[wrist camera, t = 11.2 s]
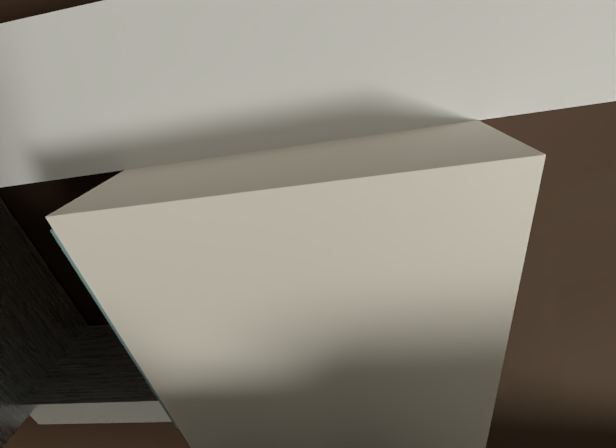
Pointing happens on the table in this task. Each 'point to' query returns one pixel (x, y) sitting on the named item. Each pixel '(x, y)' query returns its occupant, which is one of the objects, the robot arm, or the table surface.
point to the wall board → (280, 75)
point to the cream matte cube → (317, 285)
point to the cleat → (58, 350)
